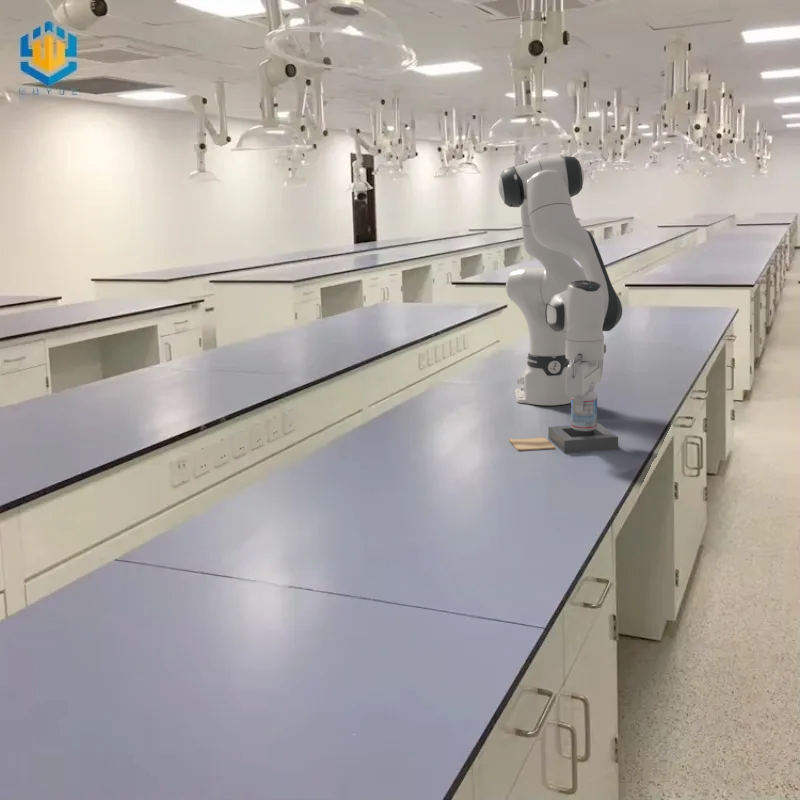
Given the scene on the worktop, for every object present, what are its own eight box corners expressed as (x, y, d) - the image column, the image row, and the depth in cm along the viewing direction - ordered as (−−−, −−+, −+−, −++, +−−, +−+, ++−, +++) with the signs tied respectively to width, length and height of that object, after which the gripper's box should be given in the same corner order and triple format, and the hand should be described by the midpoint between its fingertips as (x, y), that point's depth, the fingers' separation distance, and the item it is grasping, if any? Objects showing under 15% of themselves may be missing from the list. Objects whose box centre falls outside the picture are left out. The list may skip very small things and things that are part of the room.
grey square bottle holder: (548, 438, 213) (548, 426, 212) (599, 435, 214) (599, 423, 214) (564, 453, 200) (564, 440, 200) (617, 449, 202) (618, 437, 201)
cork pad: (509, 441, 212) (509, 439, 212) (544, 438, 213) (544, 437, 213) (518, 451, 203) (518, 449, 203) (555, 448, 204) (555, 447, 204)
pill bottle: (580, 424, 210) (580, 379, 208) (601, 427, 206) (602, 382, 203) (565, 429, 206) (566, 383, 203) (587, 433, 202) (588, 386, 199)
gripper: (586, 359, 191) (585, 419, 194) (608, 344, 209) (606, 399, 212) (558, 358, 194) (558, 417, 197) (582, 343, 212) (581, 397, 215)
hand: (583, 408), depth 205 cm, fingers closed on pill bottle, 6 cm apart
